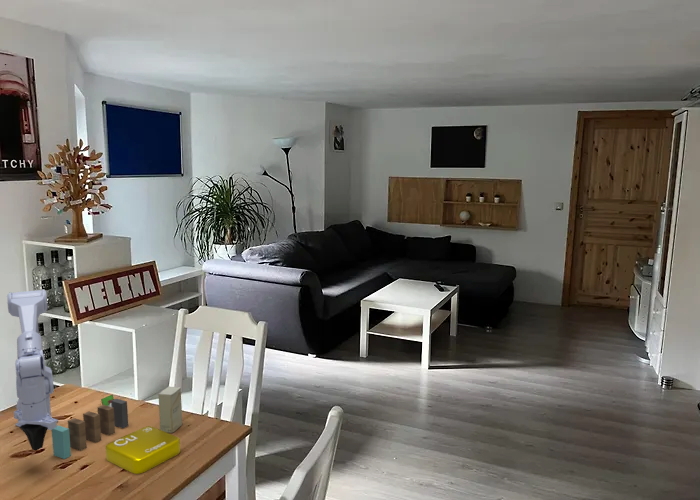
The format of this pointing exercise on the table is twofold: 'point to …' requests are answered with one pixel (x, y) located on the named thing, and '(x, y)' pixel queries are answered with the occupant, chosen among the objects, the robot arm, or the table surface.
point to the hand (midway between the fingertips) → (37, 448)
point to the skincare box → (170, 409)
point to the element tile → (142, 449)
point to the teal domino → (61, 442)
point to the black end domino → (120, 413)
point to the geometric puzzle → (107, 400)
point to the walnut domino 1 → (77, 434)
